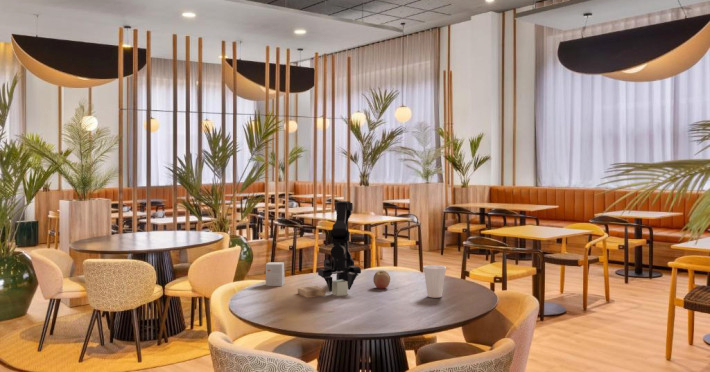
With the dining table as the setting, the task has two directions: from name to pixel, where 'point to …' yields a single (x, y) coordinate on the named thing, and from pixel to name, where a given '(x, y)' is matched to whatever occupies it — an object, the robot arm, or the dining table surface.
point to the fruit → (381, 279)
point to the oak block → (311, 291)
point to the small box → (275, 274)
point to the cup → (434, 279)
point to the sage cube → (339, 287)
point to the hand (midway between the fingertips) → (339, 290)
